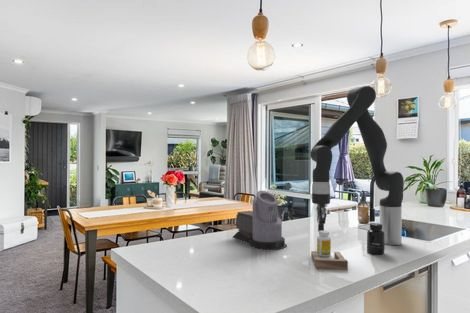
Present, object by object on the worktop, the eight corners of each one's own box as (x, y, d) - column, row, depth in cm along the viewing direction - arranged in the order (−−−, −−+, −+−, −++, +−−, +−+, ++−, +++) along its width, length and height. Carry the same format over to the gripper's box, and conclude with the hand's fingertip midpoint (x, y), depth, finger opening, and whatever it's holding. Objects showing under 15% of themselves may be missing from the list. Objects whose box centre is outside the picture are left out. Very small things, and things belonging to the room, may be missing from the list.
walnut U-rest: (311, 257, 129) (311, 249, 129) (339, 258, 127) (339, 250, 127) (316, 268, 115) (316, 260, 115) (347, 269, 114) (347, 261, 114)
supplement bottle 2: (374, 255, 130) (374, 226, 130) (363, 251, 137) (363, 222, 137) (388, 254, 132) (388, 225, 132) (377, 249, 139) (376, 222, 139)
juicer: (294, 247, 143) (294, 192, 143) (265, 252, 135) (265, 194, 135) (254, 233, 169) (254, 187, 169) (228, 237, 160) (228, 188, 160)
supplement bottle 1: (314, 254, 132) (314, 231, 132) (320, 252, 136) (320, 229, 136) (326, 257, 128) (326, 233, 128) (332, 254, 132) (332, 231, 132)
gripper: (332, 194, 131) (332, 236, 131) (327, 190, 144) (327, 229, 144) (314, 193, 132) (314, 236, 132) (310, 190, 145) (310, 229, 145)
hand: (320, 232), depth 138 cm, fingers closed
